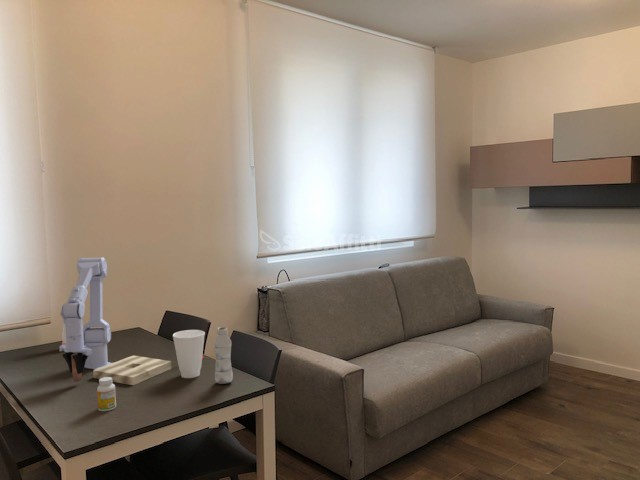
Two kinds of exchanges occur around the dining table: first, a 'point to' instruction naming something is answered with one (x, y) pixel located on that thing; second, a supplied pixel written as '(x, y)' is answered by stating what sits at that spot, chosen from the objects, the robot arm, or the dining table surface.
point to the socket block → (133, 369)
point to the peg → (75, 371)
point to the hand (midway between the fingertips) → (76, 372)
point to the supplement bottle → (106, 394)
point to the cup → (189, 351)
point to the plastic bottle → (223, 357)
